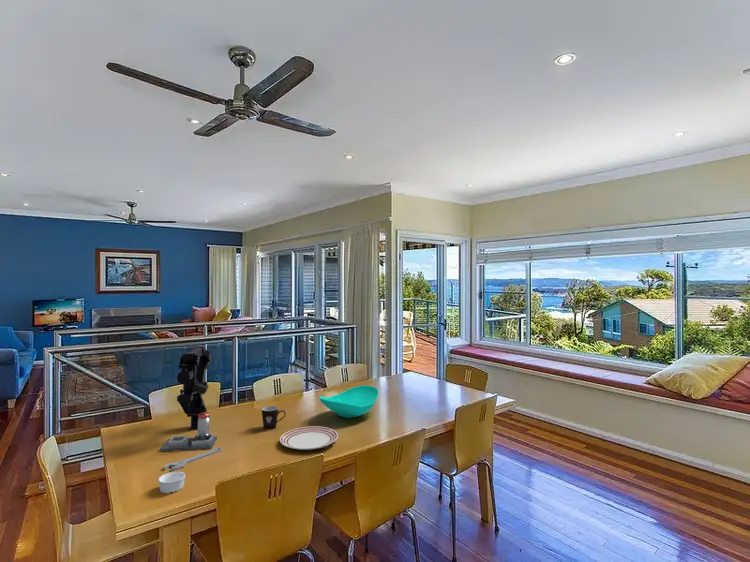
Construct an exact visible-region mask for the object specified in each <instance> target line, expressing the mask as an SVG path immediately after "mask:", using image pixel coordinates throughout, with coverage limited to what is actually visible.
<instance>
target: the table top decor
mask: <svg viewBox="0 0 750 562" xmlns="http://www.w3.org/2000/svg"><path fill="white" fill-rule="evenodd" d="M379 393H380V392H379V389H378V388H377V387H375V386H372V385H358V386H354V387H351V388H348V389H347V390H345V391H343V392H341V393H339V394H335V395H332V396H328V397H327V396H320V397H319V400H320V402H321V403H322V404H323V405H324V406H325V407H326V408H327V409H329V410H330V411H332V412H333V413H336V414H337V415H338V416H340V417H342V418H345V419H352V418H356V417H359V416H363V415H364V414H366V413H367V412H368V413H369V411H370V410H371V409H372V408H373V406H374V405H375V403H376V402H377V400H378V397H379Z"/></svg>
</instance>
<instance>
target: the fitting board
mask: <svg viewBox="0 0 750 562" xmlns="http://www.w3.org/2000/svg"><path fill="white" fill-rule="evenodd" d="M197 437H198V434H196V435H195V436H194V437H188V435H180V436H179V435H177V436H175V435H174V436H172V437H171V438H168V439H167V440H166V441H165V443H163V444H162V446H161V447H159V452H160V451H163V452H175V451H174V450H183V451H195V450H194V449H202V450H212V449H213V447H214V445H215V444H216V442H217V440H218V436H215V433H209V440H197ZM215 441H216V442H215ZM214 443H215V444H214ZM211 448H212V449H211Z"/></svg>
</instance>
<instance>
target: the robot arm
mask: <svg viewBox="0 0 750 562" xmlns="http://www.w3.org/2000/svg"><path fill="white" fill-rule="evenodd" d="M211 362H212V353H211V352H210V351H209V350H207V349H206V347H205V346H196V347H194V348H193V349H192V350H191V351H190V352H184V353H182V355H181V356H180V360H179V364H178V369H180V370H181V371H179V373H178V374H177V376H176V380H177V382H178V383H179V384H181V385H182V390H181V393H179V395H177V396H176V402H178V403H179V405H180V406H181V408H182V410H183V413H184V414H185V415H186V417H187V418H189V417H190V426H189V427H188V430H198V414H199V413H202V412H208V410H207V407H206V405H205V401H204V399H203V395H205V394H206V393H207V391H208V389H209V385H208V382H207V381H205V376H206V371H207V370H208V368H209V367H210V364H211Z"/></svg>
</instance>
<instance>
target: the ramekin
mask: <svg viewBox="0 0 750 562" xmlns="http://www.w3.org/2000/svg"><path fill="white" fill-rule="evenodd" d="M185 479H186V474H185V472H183V471H171V472H167V473H164V474H162V475H160V476H159V477H158V483H159V484H158V486H159V491H160V493H163V494H171V493H170V492H174V493H176V492H175V491H177V492H179V491H181V490H182V489H183V488H184V486H185ZM181 488H182V489H181ZM180 489H181V490H180ZM178 490H179V491H178Z"/></svg>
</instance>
